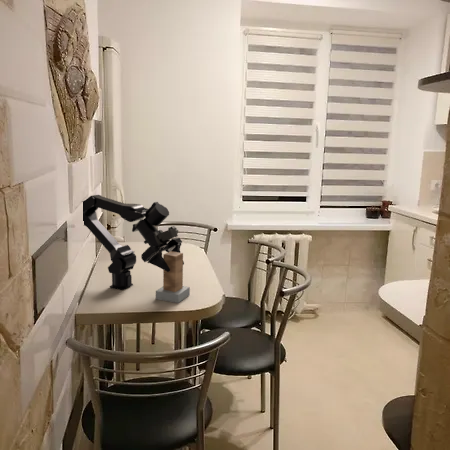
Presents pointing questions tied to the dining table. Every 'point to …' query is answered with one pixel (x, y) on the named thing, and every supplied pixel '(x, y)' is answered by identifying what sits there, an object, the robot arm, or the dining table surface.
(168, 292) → the slate plinth
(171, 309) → the dining table surface
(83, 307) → the dining table surface
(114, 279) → the robot arm
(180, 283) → the walnut pillar
